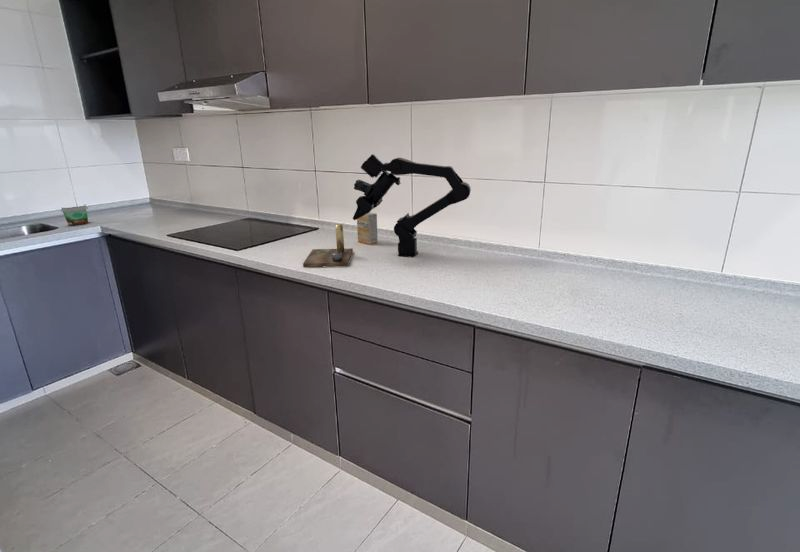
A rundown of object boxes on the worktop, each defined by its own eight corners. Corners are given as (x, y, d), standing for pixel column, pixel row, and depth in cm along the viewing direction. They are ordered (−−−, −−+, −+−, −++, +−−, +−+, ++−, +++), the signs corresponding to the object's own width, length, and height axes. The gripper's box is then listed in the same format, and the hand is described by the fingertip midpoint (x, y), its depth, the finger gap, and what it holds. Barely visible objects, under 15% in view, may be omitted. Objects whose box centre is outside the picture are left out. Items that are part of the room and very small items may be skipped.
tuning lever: (346, 248, 173) (344, 222, 169) (341, 261, 157) (339, 232, 153) (337, 248, 173) (335, 222, 169) (331, 261, 157) (329, 232, 153)
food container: (70, 227, 233) (65, 208, 230) (65, 226, 236) (60, 207, 233) (95, 222, 243) (91, 204, 240) (90, 221, 246) (85, 204, 243)
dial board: (352, 252, 175) (352, 247, 174) (347, 266, 157) (347, 262, 156) (312, 252, 175) (312, 248, 174) (303, 267, 157) (302, 263, 156)
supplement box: (357, 242, 189) (355, 212, 185) (365, 240, 193) (364, 210, 188) (369, 245, 184) (368, 214, 180) (378, 243, 187) (377, 212, 183)
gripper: (371, 169, 171) (348, 199, 176) (358, 174, 153) (333, 207, 159) (392, 188, 172) (369, 217, 177) (382, 195, 154) (356, 227, 160)
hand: (356, 217), depth 168 cm, fingers open, 9 cm apart
